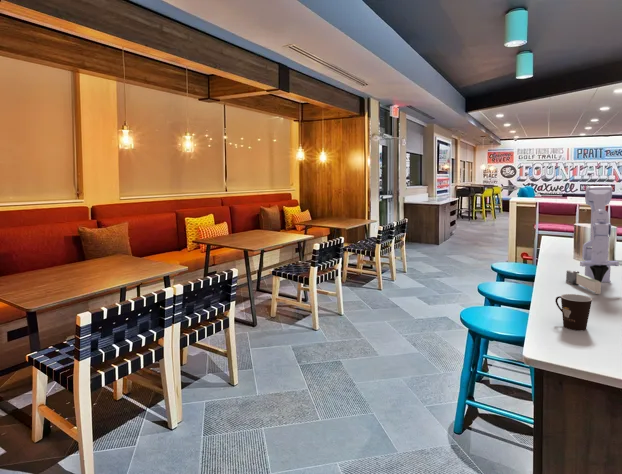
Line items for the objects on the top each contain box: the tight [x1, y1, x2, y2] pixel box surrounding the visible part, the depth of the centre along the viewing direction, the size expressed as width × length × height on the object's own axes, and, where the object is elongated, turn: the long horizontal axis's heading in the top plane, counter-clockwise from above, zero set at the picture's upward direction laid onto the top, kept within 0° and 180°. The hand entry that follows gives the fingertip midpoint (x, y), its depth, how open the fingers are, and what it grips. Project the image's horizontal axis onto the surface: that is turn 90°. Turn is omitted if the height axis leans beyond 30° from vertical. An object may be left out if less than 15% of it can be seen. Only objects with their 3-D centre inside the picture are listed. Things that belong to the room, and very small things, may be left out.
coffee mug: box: [555, 293, 593, 332], centre depth 138 cm, size 12×9×10 cm
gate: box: [576, 272, 602, 295], centre depth 179 cm, size 16×2×5 cm, turn 174°
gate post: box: [565, 270, 580, 286], centre depth 191 cm, size 8×2×6 cm, turn 174°
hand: (598, 282), depth 178 cm, fingers closed
